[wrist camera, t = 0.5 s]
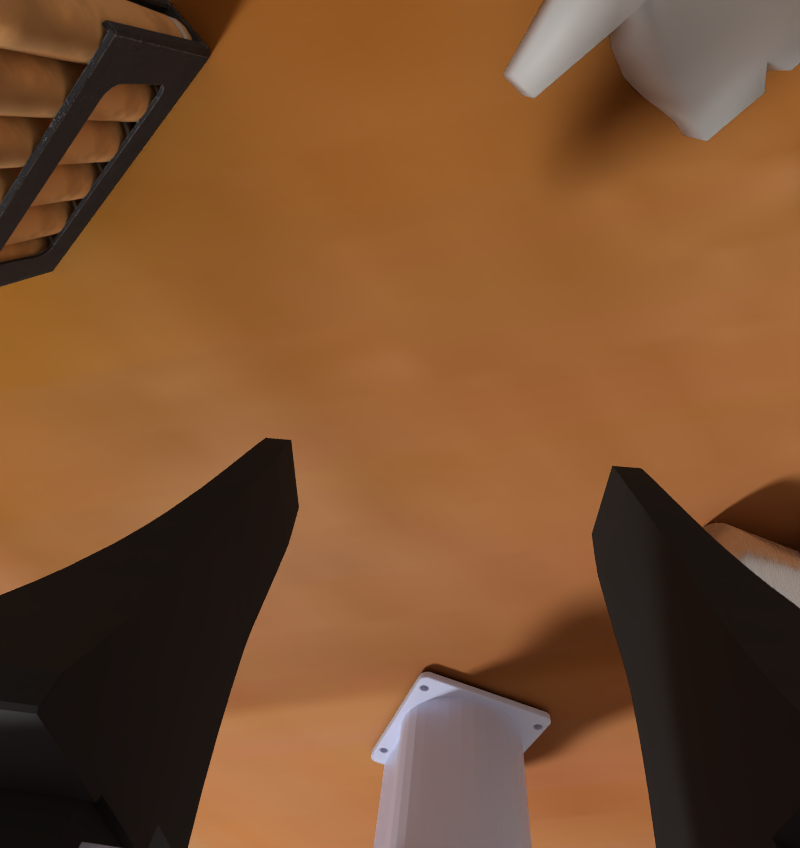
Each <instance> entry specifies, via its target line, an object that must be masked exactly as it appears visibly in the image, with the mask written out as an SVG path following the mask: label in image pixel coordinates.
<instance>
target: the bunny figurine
mask: <svg viewBox="0 0 800 848" xmlns="http://www.w3.org/2000/svg"><path fill="white" fill-rule="evenodd" d="M608 35H609V37H610V46H611V49H612V51H613V54H614V56H615V58H616V61H617V63H618V65H619V68H620V70H621V73H622V75H623V77H624V78H625V79H626V80H627V81H628V82H629V84H630V85H631V86H632V87H633V88H634V89H635V90H636V91H638V92H639V93H640V94H641V95H642V96H643V97H644V98H645V99H646V100H648V101H649V102H650V103H651V104H653V105H654V106H655V107H657V108H658V109H659V110H661V111H662V112H663V113H664V114H666V115H667V116H668V117H670V118H671V119H672V120H673V121H674V123H675V124H676V125H677V127H678V128H679V130H680V131H681V132H682V134H683V135H684V136H688V137H692V138H696V139H700V140H705V141H708V140H709V139H710V138H711V137H712V136H714V135H715V134H716V133H717V132H718V131H719V130H721V129H722V128H723V127H724V126H725V125H727V124H728V123H729V122H730V121H731V120H733V119H734V118H735V117H736V116H737V115H739V114H740V113H741V112H742V111H743V110H744V109H746V108H747V107H748V106H749V105H750V104H752V103H753V102H754V101H755V100H756V99H758V98H759V97H760V96H761V95H762V94H763V93H765V82H766V71H777V70H792V69H793V68H794V67H796V66H797V65H798V64H799V63H800V0H544V1H543V2H542V4H541V6H540V8H539V10H538V11H537V13H536V15H535V17H534V19H533V21H532V22H531V24H530V26H529V28H528V30H527V31H526V33H525V35H524V37H523V39H522V41H521V42H520V44H519V46H518V48H517V50H516V51H515V53H514V55H513V57H512V59H511V61H510V62H509V64H508V66H507V68H506V70H505V71H504V73H503V75H504V77H505V78H506V79H507V80H508V81H509V82H510V83H511V84H512V85H513V86H514V87H515V88H516V89H517V90H518V91H519V92H520V93H521V95H522V96H527V97H531V98H535V97H536V96H537V95H539V94H540V93H541V92H542V91H543V90H544V89H546V88H547V87H548V86H549V85H550V84H551V83H553V82H554V81H555V80H556V79H557V78H559V77H560V76H561V75H562V74H563V73H564V72H566V71H567V70H568V69H569V68H570V67H571V66H573V65H574V64H575V63H576V62H577V61H578V60H580V59H581V58H582V57H583V56H584V55H586V54H587V53H588V52H589V51H590V50H591V49H593V48H594V47H595V46H596V45H597V44H598V43H600V42H601V41H602V40H603V39H604V38H605V37H607V36H608Z"/></svg>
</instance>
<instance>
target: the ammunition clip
mask: <svg viewBox="0 0 800 848" xmlns="http://www.w3.org/2000/svg"><path fill="white" fill-rule="evenodd" d="M208 59H209V48H208V47H207V45H206V44H205V43H204V42H203V41H202V40H201V38H200V37H199V36H198V35H197V34H196V33H195V31H194V30H193V29H192V28H191V27H190V25H189V24H188V23H187V22H186V21H185V20H184V18H183V17H182V16H181V15H180V14H179V13H178V11H177V10H176V9H175V8H174V7H173V6H172V4H171V3H170V2H169V1H168V0H0V287H1V286H4V285H7V284H11V283H14V282H18V281H21V280H24V279H28V278H31V277H34V276H38V275H41V274H45V273H48V272H51V271H53V270H54V269H55V267H56V266H57V265H58V263H59V262H60V260H61V259H62V258H63V256H64V255H65V254H66V252H67V251H68V250H69V248H70V247H71V245H72V244H73V243H74V241H75V240H76V239H77V237H78V236H79V235H80V233H81V232H82V230H83V229H84V228H85V226H86V225H87V224H88V222H89V221H90V220H91V218H92V217H93V215H94V214H95V213H96V211H97V210H98V209H99V207H100V206H101V205H102V203H103V202H104V200H105V199H106V198H107V196H108V195H109V194H110V192H111V191H112V190H113V188H114V187H115V185H116V184H117V183H118V181H119V180H120V179H121V177H122V176H123V175H124V173H125V172H126V170H127V169H128V168H129V166H130V165H131V164H132V162H133V161H134V160H135V158H136V157H137V155H138V154H139V153H140V151H141V150H142V149H143V147H144V146H145V145H146V143H147V142H148V140H149V139H150V138H151V136H152V135H153V134H154V132H155V131H156V130H157V128H158V127H159V125H160V124H161V123H162V121H163V120H164V119H165V117H166V116H167V115H168V113H169V112H170V110H171V109H172V108H173V106H174V105H175V104H176V102H177V101H178V100H179V98H180V97H181V96H182V94H183V93H184V91H185V90H186V89H187V87H188V86H189V85H190V83H191V82H192V81H193V79H194V78H195V76H196V75H197V74H198V72H199V71H200V70H201V68H202V67H203V66H204V64H205V63H206V61H207V60H208Z"/></svg>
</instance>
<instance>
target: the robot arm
mask: <svg viewBox="0 0 800 848" xmlns="http://www.w3.org/2000/svg"><path fill="white" fill-rule="evenodd" d="M298 508H299V505H298V496H297V487H296V478H295V470H294V461H293V452H292V443H291V440H284V439H272V438H265V439H264V440H262V441H261V442H259V443H258V444H257V445H256V446H254V447H253V448H252V449H251V450H249V451H248V452H247V453H246V454H244V455H243V456H242V457H241V458H239V459H238V460H237V461H236V462H234V463H233V464H232V465H230V466H229V467H228V468H227V469H225V470H224V471H223V472H221V473H220V474H219V475H218V476H216V477H215V478H214V479H212V480H211V481H210V482H208V483H207V484H206V485H205V486H203V487H202V488H200V489H199V490H198V491H196V492H195V493H193V494H192V495H190V496H189V497H188V498H186V499H185V500H183V501H182V502H180V503H179V504H178V505H176V506H175V507H173V508H172V509H170V510H169V511H167V512H166V513H164V514H163V515H161V516H160V517H158V518H157V519H155V520H153V521H152V522H150V523H149V524H147V525H145V526H144V527H142V528H140V529H139V530H137V531H135V532H133V533H132V534H130V535H128V536H126V537H125V538H123V539H121V540H119V541H118V542H116V543H114V544H112V545H110V546H108V547H106V548H104V549H102V550H100V551H98V552H96V553H94V554H92V555H90V556H88V557H86V558H84V559H82V560H80V561H78V562H76V563H74V564H72V565H70V566H68V567H66V568H64V569H62V570H59V571H57V572H55V573H52V574H50V575H48V576H46V577H43V578H41V579H39V580H37V581H34V582H32V583H29V584H27V585H24V586H22V587H19V588H17V589H15V590H12V591H10V592H7V593H5V594H2V595H0V848H188V845H189V841H190V837H191V833H192V829H193V825H194V821H195V817H196V813H197V809H198V805H199V801H200V797H201V793H202V789H203V786H204V782H205V778H206V775H207V771H208V768H209V764H210V760H211V757H212V753H213V749H214V746H215V742H216V739H217V735H218V732H219V728H220V725H221V722H222V718H223V715H224V712H225V708H226V705H227V702H228V698H229V695H230V692H231V688H232V685H233V682H234V679H235V676H236V673H237V670H238V666H239V663H240V660H241V657H242V654H243V651H244V648H245V645H246V643H247V640H248V637H249V635H250V632H251V630H252V627H253V625H254V623H255V620H256V618H257V616H258V614H259V611H260V609H261V607H262V604H263V602H264V600H265V598H266V595H267V593H268V591H269V588H270V586H271V584H272V582H273V579H274V577H275V575H276V572H277V570H278V568H279V565H280V563H281V561H282V558H283V556H284V554H285V551H286V549H287V547H288V544H289V540H290V537H291V534H292V530H293V527H294V523H295V519H296V516H297V512H298ZM592 539H593V546H594V554H595V560H596V566H597V573H598V577H599V581H600V585H601V588H602V592H603V595H604V599H605V602H606V606H607V609H608V613H609V616H610V619H611V623H612V626H613V630H614V633H615V636H616V640H617V643H618V646H619V650H620V653H621V657H622V660H623V663H624V667H625V670H626V674H627V678H628V682H629V686H630V690H631V695H632V700H633V706H634V711H635V716H636V722H637V727H638V733H639V738H640V744H641V750H642V756H643V762H644V768H645V774H646V781H647V787H648V793H649V800H650V807H651V814H652V821H653V829H654V836H655V843H656V848H800V608H799V607H798V606H797V605H795V604H794V603H793V602H791V601H790V600H789V599H787V598H786V597H784V596H783V595H782V594H780V593H779V592H778V591H776V590H775V589H774V588H772V587H771V586H770V585H769V584H767V583H766V582H765V581H764V580H762V579H761V578H760V577H758V576H757V575H756V574H755V573H754V572H752V571H751V570H750V569H749V568H748V567H746V566H745V565H744V564H743V563H742V562H741V561H739V560H738V559H737V558H736V557H735V556H734V555H732V554H731V553H730V552H729V551H728V550H727V549H725V548H724V547H723V546H722V545H721V544H720V543H719V542H718V541H717V540H715V539H714V538H713V537H712V536H711V535H710V534H709V533H708V532H707V531H706V530H705V529H703V528H702V527H701V526H700V525H699V524H698V523H697V522H696V521H695V520H694V519H693V518H692V517H691V516H690V515H689V514H688V513H687V512H686V511H685V510H684V509H683V508H682V507H681V506H680V505H679V504H678V503H677V502H675V501H674V500H673V499H672V498H671V497H670V496H669V495H668V494H667V493H666V492H665V491H664V490H663V489H662V488H661V487H660V486H659V485H658V484H657V483H656V482H655V481H654V480H653V479H652V478H651V477H650V476H649V475H648V474H647V473H646V472H645V471H644V470H642V469H641V468H631V467H618V466H612V469H611V472H610V475H609V479H608V482H607V485H606V489H605V492H604V495H603V499H602V502H601V505H600V509H599V512H598V515H597V519H596V522H595V525H594V529H593V532H592ZM550 723H551V720H550V715H549V714H548V713H547V712H545V711H542V710H539V709H536V708H533V707H530V706H527V705H524V704H521V703H519V702H516V701H513V700H510V699H507V698H504V697H501V696H498V695H495V694H492V693H490V692H487V691H484V690H481V689H478V688H475V687H472V686H469V685H466V684H463V683H461V682H458V681H455V680H452V679H449V678H446V677H443V676H440V675H437V674H434V673H432V672H423V673H421V674H420V675H419V677H418V678H417V680H416V682H415V683H414V685H413V686H412V688H411V690H410V691H409V693H408V694H407V696H406V697H405V699H404V701H403V702H402V704H401V705H400V707H399V709H398V710H397V712H396V713H395V715H394V716H393V718H392V720H391V721H390V723H389V724H388V726H387V728H386V729H385V731H384V732H383V734H382V735H381V737H380V739H379V740H378V742H377V743H376V745H375V747H374V748H373V750H372V754H371V758H372V759H373V760H374V761H376V762H379V763H382V764H385V766H384V774H383V781H382V789H381V796H380V803H379V811H378V818H377V826H376V833H375V840H374V848H532V846H531V835H530V823H529V812H528V800H527V789H526V777H525V765H524V754H523V753H524V752H525V751H526V750H527V749H528V748H529V747H530V746H531V745H532V743H533V742H534V741H535V740H536V739H537V738H538V737H539V736H540V735H541V734H542V733H543V731H544V730H545V729H546V728H547V727H548V726H549V725H550Z"/></svg>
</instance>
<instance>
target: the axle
mask: <svg viewBox="0 0 800 848" xmlns="http://www.w3.org/2000/svg"><path fill="white" fill-rule="evenodd" d="M703 529H705V530H706V531H707V532H708V533H709V534H710V535H711V536H712V537H713V538H714V539H715V540H717V541H718V542H719V543H720V544H721V545H722V546H723V547H724V548H725V549H727V550H728V551H729V552H730V553H731V554H732V555H734V556H735V557H736V558H737V559H738V560H739V561H741V562H742V563H743V564H744V565H745V566H746V567H748V568H749V569H750V570H751V571H752V572H754V573H755V574H756V575H757V576H758V577H760V578H761V579H762V580H764V581H765V582H766V583H767V584H769V585H770V586H771V587H772V588H774V589H775V590H776V591H778V592H779V593H780V594H782V595H783V596H784V597H786V598H787V599H789V600H790V601H791V602H793V603H794V604H795V605H797V606H798V607H799V608H800V552H798V551H796V550H793V549H791V548H788V547H785V546H783V545H780V544H778V543H775V542H772V541H770V540H767V539H764V538H762V537H759V536H757V535H754V534H751V533H749V532H746V531H744V530H741V529H738V528H736V527H733V526H730V525H728V524H725V523H713V524H709V525H706V526H704V527H703Z"/></svg>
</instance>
